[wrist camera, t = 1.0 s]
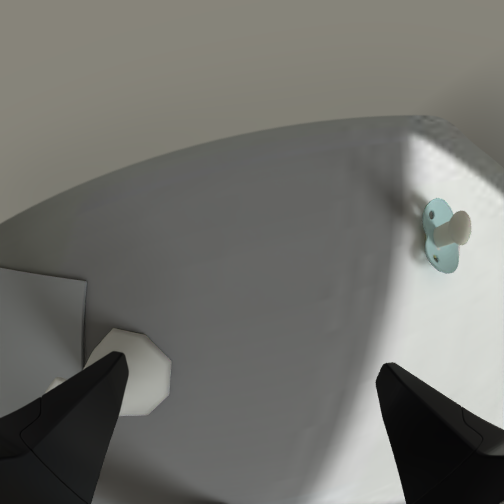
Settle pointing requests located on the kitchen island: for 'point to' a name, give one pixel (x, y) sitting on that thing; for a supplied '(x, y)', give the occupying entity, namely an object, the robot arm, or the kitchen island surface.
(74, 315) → the mat
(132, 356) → the flask
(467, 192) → the kitchen island surface
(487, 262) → the kitchen island surface
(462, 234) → the pacifier
